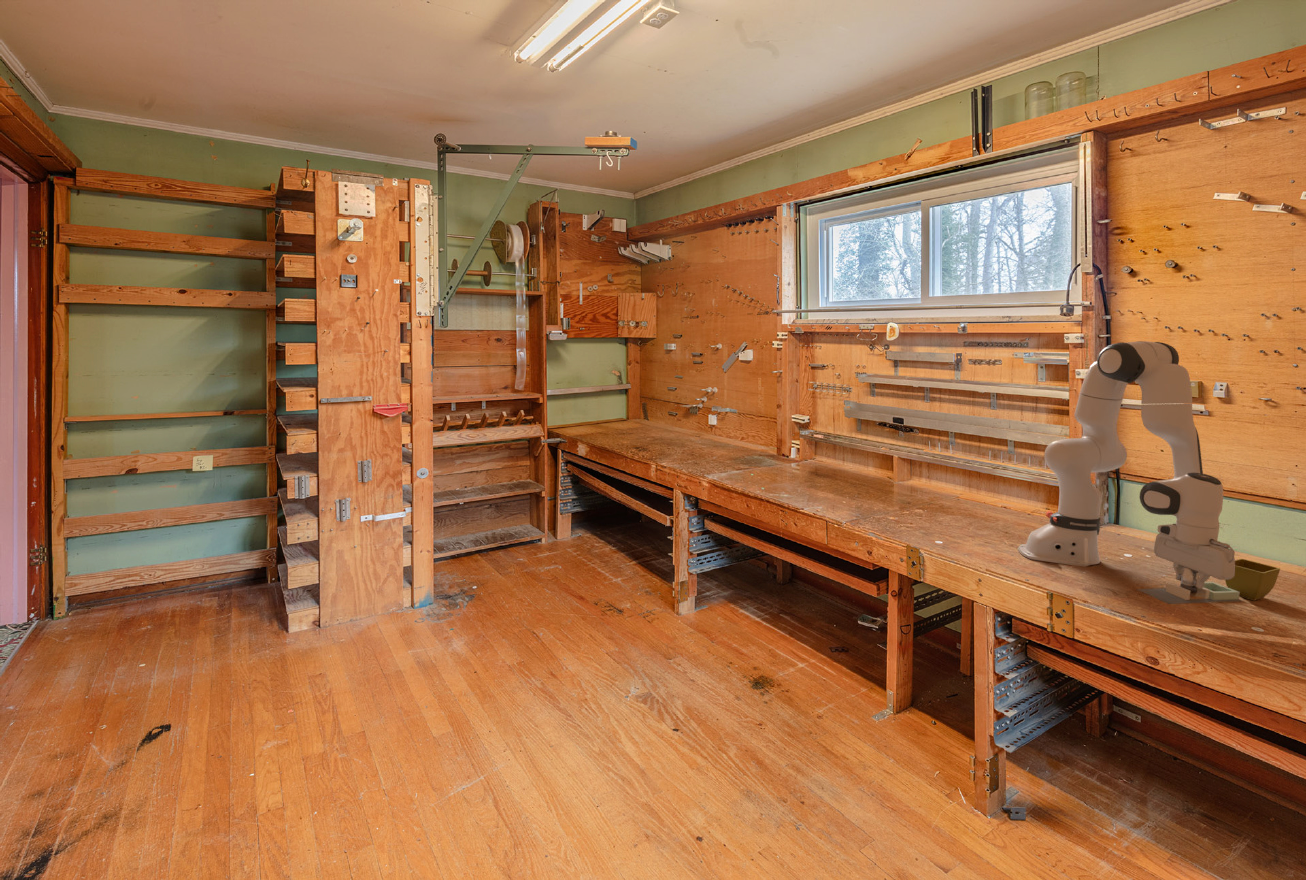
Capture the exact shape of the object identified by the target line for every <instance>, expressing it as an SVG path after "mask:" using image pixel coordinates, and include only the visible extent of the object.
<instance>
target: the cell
mask: <svg viewBox="0 0 1306 880" xmlns="http://www.w3.org/2000/svg"><path fill="white" fill-rule="evenodd" d="M1182 568H1183V569H1182V577H1181V581H1180V585H1179V586H1180V587H1183V588H1185V589H1187V590H1190V595H1197V590H1198V588H1197V587H1194V586H1193V584H1194V583H1193V580H1197V579H1198V578H1199V577H1200V576H1198V571H1195V570H1192V569H1190V568H1187V567H1184V566H1183V567H1182Z"/></svg>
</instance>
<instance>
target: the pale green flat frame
mask: <svg viewBox="0 0 1306 880" xmlns="http://www.w3.org/2000/svg"><path fill="white" fill-rule="evenodd" d="M1203 588H1206V589H1208V590H1210V594H1209V599H1212V600H1232V599H1239V600H1240V596H1239V594H1240V592H1238V591H1236V590H1233V589H1230V588H1228V587H1227V586H1224V585H1223V584H1220V583H1217V582H1214V581H1205V582H1204V587H1203ZM1212 590H1213V591H1212Z"/></svg>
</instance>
